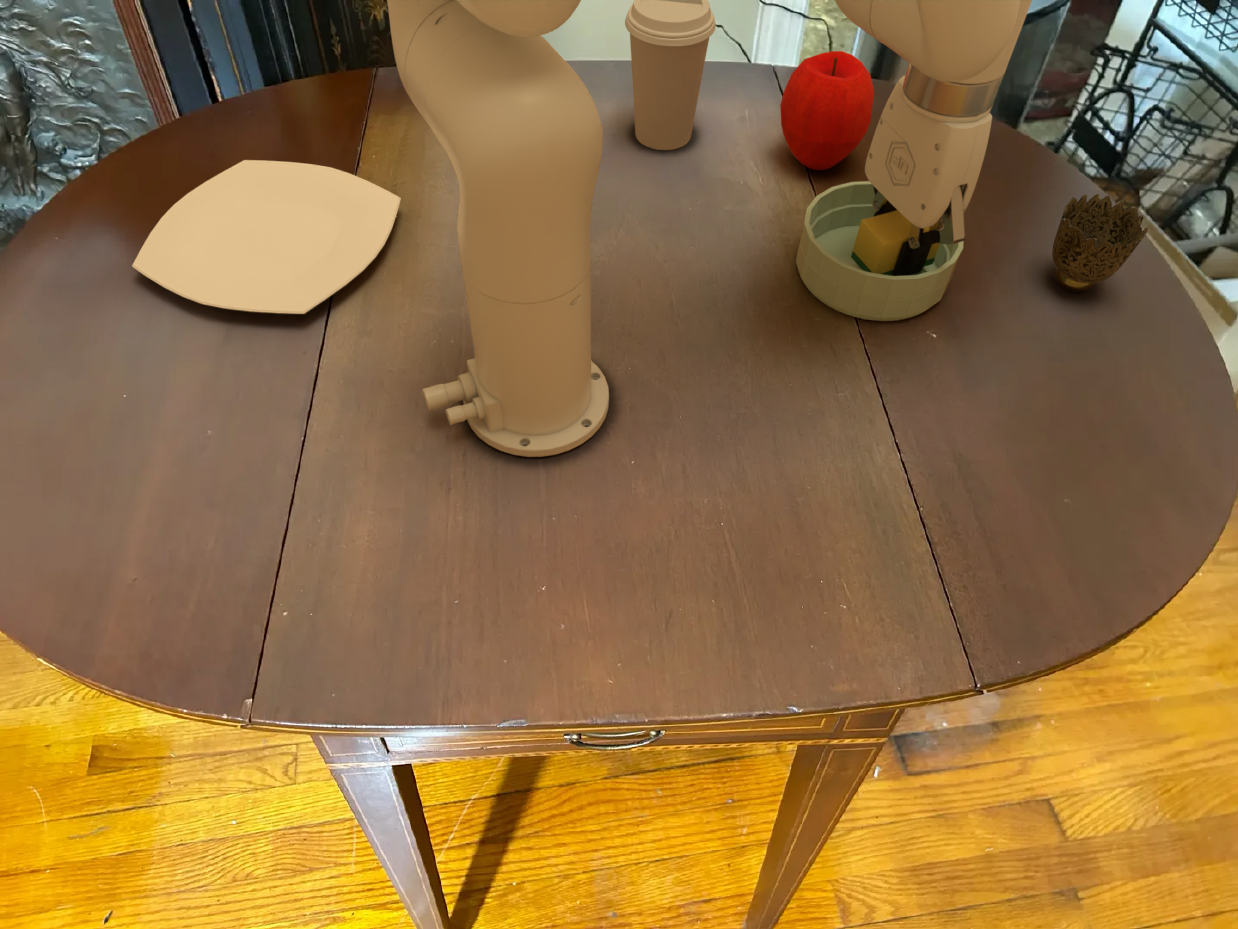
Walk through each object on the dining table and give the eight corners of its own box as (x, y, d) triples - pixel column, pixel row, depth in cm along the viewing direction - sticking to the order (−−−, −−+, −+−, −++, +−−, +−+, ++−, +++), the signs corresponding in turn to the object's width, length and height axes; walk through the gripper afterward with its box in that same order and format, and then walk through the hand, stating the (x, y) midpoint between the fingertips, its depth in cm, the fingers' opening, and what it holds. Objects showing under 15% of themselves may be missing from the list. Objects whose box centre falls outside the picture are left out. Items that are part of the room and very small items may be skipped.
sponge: (872, 282, 88) (884, 244, 84) (850, 257, 90) (860, 219, 86) (933, 264, 90) (946, 226, 86) (909, 240, 92) (922, 202, 88)
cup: (1114, 313, 88) (1154, 247, 82) (1036, 302, 89) (1070, 235, 83) (1105, 265, 93) (1142, 198, 86) (1030, 254, 94) (1062, 187, 87)
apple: (788, 127, 107) (807, 24, 98) (869, 149, 105) (897, 45, 95) (759, 170, 102) (776, 66, 92) (844, 195, 99) (870, 90, 90)
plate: (243, 160, 101) (238, 144, 99) (432, 205, 96) (429, 189, 95) (105, 289, 87) (96, 273, 86) (317, 349, 83) (312, 333, 81)
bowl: (846, 340, 85) (859, 295, 81) (768, 245, 94) (776, 200, 89) (976, 300, 89) (996, 255, 85) (890, 212, 97) (904, 168, 93)
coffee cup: (718, 128, 107) (733, -3, 95) (678, 167, 102) (689, 34, 90) (649, 103, 110) (655, -26, 98) (606, 140, 105) (607, 8, 93)
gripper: (858, 43, 79) (816, 218, 93) (976, 145, 70) (910, 322, 84) (929, 28, 81) (878, 202, 95) (1054, 125, 72) (976, 302, 86)
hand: (893, 257), depth 89 cm, fingers closed on sponge, 4 cm apart
